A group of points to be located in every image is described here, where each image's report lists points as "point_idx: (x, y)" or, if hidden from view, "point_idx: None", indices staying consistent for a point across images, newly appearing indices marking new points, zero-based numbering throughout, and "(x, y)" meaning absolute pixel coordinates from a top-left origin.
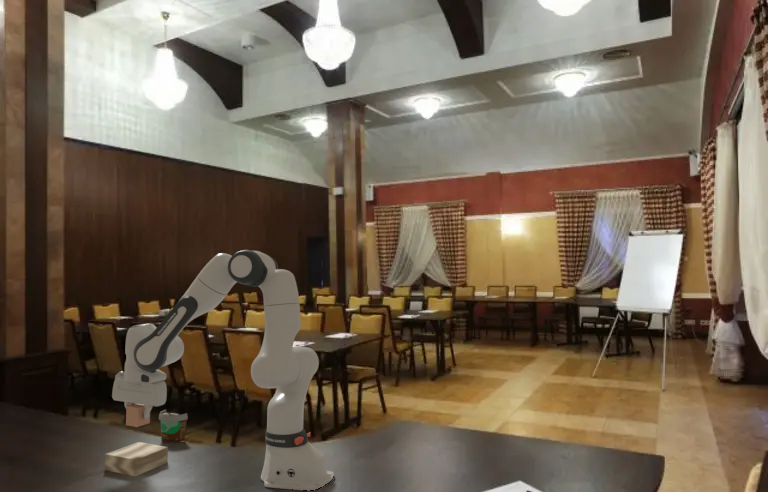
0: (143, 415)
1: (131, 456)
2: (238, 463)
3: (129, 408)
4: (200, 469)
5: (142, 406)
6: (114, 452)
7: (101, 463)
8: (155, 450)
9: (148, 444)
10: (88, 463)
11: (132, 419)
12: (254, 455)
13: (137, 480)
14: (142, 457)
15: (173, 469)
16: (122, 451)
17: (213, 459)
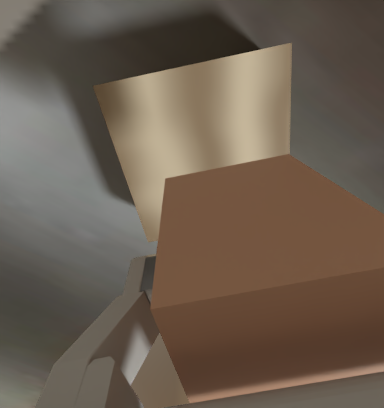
0: (149, 270)
1: (154, 101)
2: (11, 301)
3: (343, 249)
4: (30, 235)
5: (184, 367)
6: (269, 86)
7: (330, 87)
8: (148, 200)
9: None
10: (377, 56)
11: (229, 190)
12: (41, 337)
13: (67, 66)
14: (107, 125)
15: (85, 195)
16: (248, 116)
17: (82, 285)
